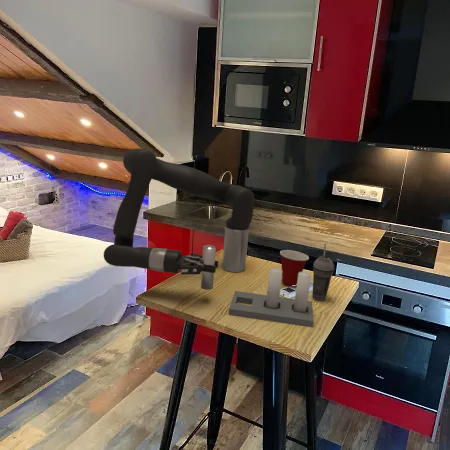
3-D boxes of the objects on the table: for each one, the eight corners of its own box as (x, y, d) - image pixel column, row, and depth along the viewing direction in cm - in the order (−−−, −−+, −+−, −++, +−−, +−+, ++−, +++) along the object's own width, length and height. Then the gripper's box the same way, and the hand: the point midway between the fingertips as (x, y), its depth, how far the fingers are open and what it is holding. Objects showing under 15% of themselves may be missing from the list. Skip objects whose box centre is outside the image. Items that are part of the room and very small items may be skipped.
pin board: (234, 296, 148) (238, 257, 144) (311, 307, 145) (316, 268, 141) (228, 314, 135) (232, 272, 131) (312, 326, 131) (318, 284, 128)
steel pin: (202, 284, 144) (204, 244, 140) (213, 285, 143) (216, 245, 139) (199, 288, 140) (202, 248, 136) (211, 290, 139) (214, 249, 135)
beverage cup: (314, 303, 148) (322, 248, 142) (304, 294, 154) (312, 241, 149) (333, 302, 150) (341, 248, 144) (323, 293, 156) (331, 241, 151)
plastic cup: (310, 288, 160) (315, 258, 157) (285, 290, 156) (289, 259, 153) (295, 277, 170) (299, 248, 166) (271, 279, 166) (274, 249, 162)
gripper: (159, 256, 133) (213, 263, 131) (171, 243, 147) (221, 248, 145) (158, 279, 136) (212, 286, 133) (171, 263, 149) (219, 269, 147)
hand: (216, 266), depth 139 cm, fingers closed on steel pin, 4 cm apart
